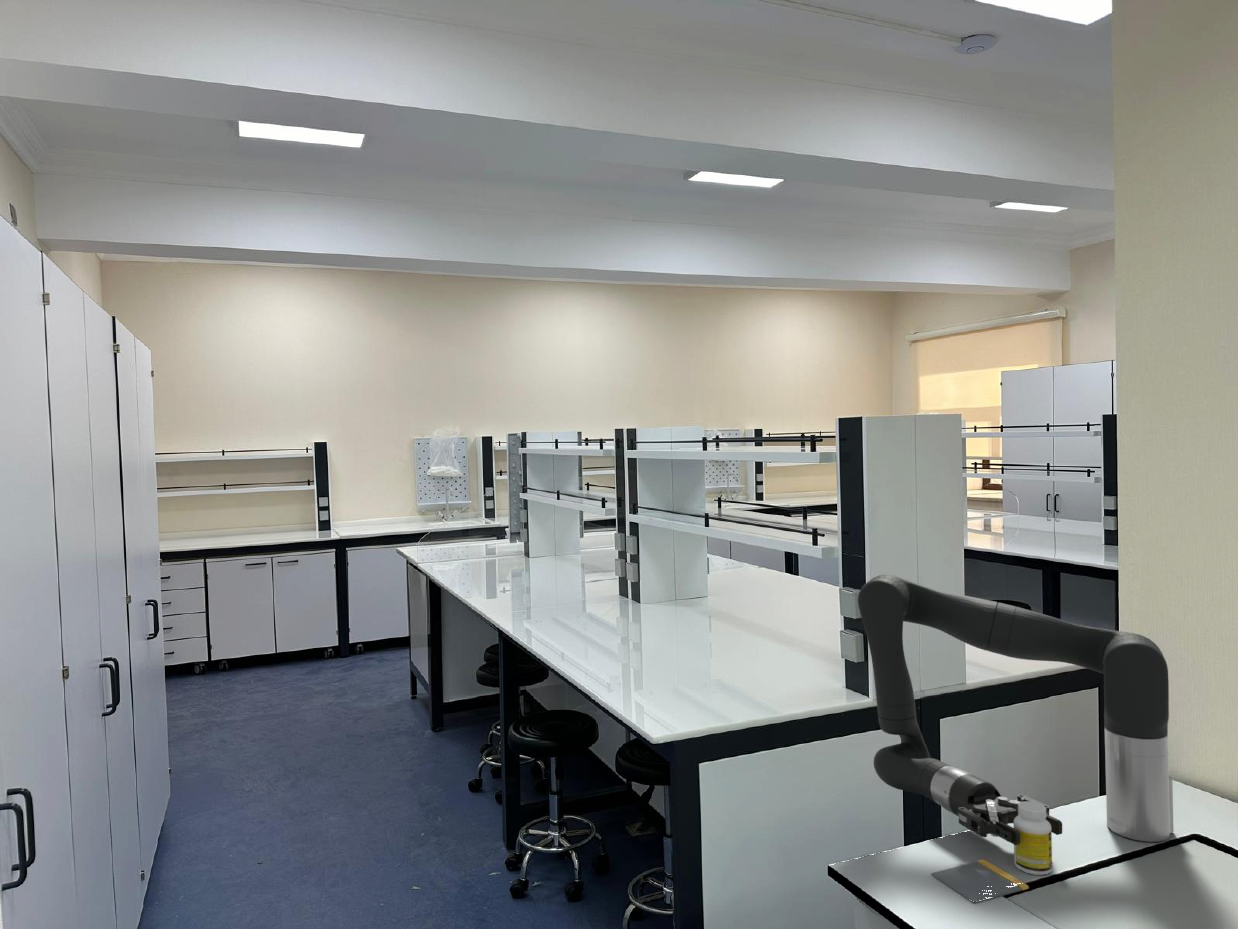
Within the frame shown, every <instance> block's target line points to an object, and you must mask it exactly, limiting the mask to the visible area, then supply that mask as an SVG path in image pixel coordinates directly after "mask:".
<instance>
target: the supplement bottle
mask: <svg viewBox="0 0 1238 929" xmlns="http://www.w3.org/2000/svg"><path fill="white" fill-rule="evenodd" d="M1045 818H1046V807H1045V806H1044V805H1042V804H1040V803H1036V802H1031V801H1024V802H1020V803H1019V804H1018V816H1017V817H1015V819H1014V824H1013V828H1015V829H1017V830H1018V831H1019V832H1020V844H1018V845H1014V844H1013V860H1014V862H1013V863H1014V865H1015V867H1016V868H1017V869H1019V870H1020V871H1021V870H1022V872H1023V871H1024V872H1023V873H1026V874H1029V873H1030V874H1029V875H1035V876H1044V874H1046V875H1048V873H1049V874H1050V873H1051V872H1052V871H1053V846H1052V845H1053V843H1052V839H1053V838H1052V830H1051V825H1050V823H1049V822H1048V821H1047V820H1046V819H1045Z"/></svg>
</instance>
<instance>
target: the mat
mask: <svg viewBox="0 0 1238 929" xmlns="http://www.w3.org/2000/svg"><path fill="white" fill-rule="evenodd" d="M930 875H931V876H933V877H934V878H935V879H937V880H938V879H939V880H938V881H939V882H942V883H943V884H944V883H945V886H947V885H948V886H947V887H949V888H950V887H951V889H952V888H953V889H954V890H953V889H952V890H953V891H955V890H956V891H957V892H956V891H955V892H956V893H958V894H959V893H960V894H959V895H961V894H962V895H963V897H964V898H965V897H966V898H965V899H967V898H968V899H970V900H972V901H974V902H976V901H979V900H983V899H986V898H985V897H987V898H988V897H996V896H1000V897H1003V896H1006V895H1011V894H1014V893H1017V892H1021V891H1026V890H1028V889H1029V888H1030V887H1029V885H1028V884H1026V883H1025V882H1022V881H1021V880H1019V879H1017V878H1016V877H1014V876H1013V875H1011V874H1009V873H1008V872H1006V871H1004V870H1002V869H1001V868H999V867H997V866H995V865H994V864H993V863H991V862H989V861H987V860H986V859H979V860H977V861H974V862H971V863H966V864H963V865H962V864H961V865H958V866H955V867H951V868H945V869H942V870H939V871H935V872H931V874H930ZM1011 883H1012V885H1011ZM1013 883H1015V884H1017V883H1021V884H1017V885H1018V886H1019V887H1018V886H1016V887H1013V888H1010V887H1009V888H1008V887H1006V886H1014V885H1013ZM1022 883H1023V884H1022ZM987 886H989V887H987ZM991 886H992V887H991ZM982 890H983V891H982ZM984 890H985V891H984ZM986 890H987V892H986ZM988 890H992V891H991V892H990V891H989V892H988ZM979 893H980V894H979ZM983 893H988V894H984V895H983ZM989 893H990V894H991V893H992V895H989ZM995 893H996V894H995ZM962 895H961V896H962ZM996 898H997V897H996ZM968 899H967V900H968ZM970 900H969V901H970Z"/></svg>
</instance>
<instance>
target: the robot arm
mask: <svg viewBox="0 0 1238 929" xmlns="http://www.w3.org/2000/svg"><path fill="white" fill-rule="evenodd" d="M857 605H858V609H859V613H860V617H861V620H862V623H863V624H862V625H863V628H864V631H865V634H866V638H867V643H868V647H869V651H870V656H871V663H872V670H873V671H872V672H873V678H874V688H875V700H876V707H877V718H878V723H879V728H880V730H881V731H882V732H883V733H886V734H888V735H892V736H893V735H894V736H899V738H900V743H897V744H893V745H888V746H885V747H882V748H879V750H877V751H876V753H875V755H874V757H873V767H874V771H875V773H876V775H877V776H878V778H879V779H880V780H881V781H882V782H884V784H886V785H888V787H891V788H894V789H897V790H901V791H903V792H908V793H911V794H916V795H917V794H918V795H921V796H924V797H925V798H927V799H929V800H931V801H932V802H934V803H935V804H938V805H939V806H941V807H942V808H943V809H945V810H946V811H948V812H949V813H951V814H952V815H955V816H957V817H958V823H959V825H961V826H962V827H964V828H966V829H968V830H970V831H971V832H972V833H974V834H976V835H977V836H979V837H982V838H986V837H987V838H988V835H990V836H992V837H995V838H996V837H997V838H1001V839H1003V840H1005V841H1006V842H1008V843H1010V844H1012V845H1013V846H1014V845H1018V844H1020V832H1019V831H1018V830H1017V829H1015V828H1014V826H1013V827H1012V825H1009V824H1013V825H1014V819H1015V817H1017V816H1018V815H1019V813H1018V804H1019V803H1020V802H1024V801H1031V802H1036V803H1040V804H1042V805H1044V806H1045V807H1046V818H1045V819H1046V820H1047V821H1048V822H1049V823H1050V825H1051V830H1052V833H1053V834H1054V835H1057V836H1059V835H1062V834H1063V822H1062V821H1061V820H1060V819H1058V818H1057V817H1054V816H1051V815H1050V806H1049V805H1047V804H1045V803H1043V802H1041V801H1038V800H1036V799H1033V798H1031V797H1029V796H1027V795H1025V794H1021V793H1020V794H1017V795H1016V796H1017V797H1016V798H1017V799H1014V800H1013V799H1010V798H1008V797H1005V796H1002V795H1001V794H1000V792H999V790H998V789H997V788H996V786H995V785H994V784H992V783H991V782H989V781H986V780H984V779H982V778H980V777H978V776H976V775H974V774H972V773H970V772H968V771H965V770H964V769H960V768H957V767H955V766H952V765H950V764H948V763H945V762H943V761H941V760H939V759H936V758H932V757H931V755H930V752H929V750H928V747H927V744H926V743H925V740H924V737H923V734H922V732H921V729H920V726H919V724H918V719H917V712H916V711H917V710H916V701H915V693H914V687H913V684H912V679H911V676H910V673H909V669H908V666H907V661H906V656H905V651H904V640H903V639H904V638H903V637H904V636H903V635H904V634H903V632H904V622H905V623H912V624H916V625H920V626H926V627H929V628H933V629H936V630H939V631H941V632H943V633H945V634H947V635H949V636H950V637H953V638H955V639H957V640H959V641H960V642H963V643H965V644H966V645H969V646H972V647H974V648H976V649H980V650H982V651H986V652H990V653H993V654H998V655H1001V656H1005V657H1009V658H1013V659H1019V660H1027V661H1038V662H1039V661H1040V662H1045V661H1046V662H1058V663H1066V664H1071V665H1074V666H1078V667H1081V668H1085V669H1089V670H1091V671H1094V672H1098V673H1100V674H1103V691H1104V692H1103V693H1104V694H1103V697H1104V708H1103V709H1104V711H1103V712H1104V713H1103V718H1104V720H1103V721H1104V722H1103V724H1104V752H1105V753H1104V755H1105V790H1106V791H1105V792H1106V793H1105V795H1106V796H1105V797H1106V802H1105V803H1106V805H1105V806H1106V807H1105V808H1106V826H1107V827H1108V829H1109V828H1110V829H1111V830H1110V829H1109V830H1110V831H1112V832H1113V833H1115V834H1117V835H1119V836H1122V837H1124V838H1127V839H1131V840H1135V841H1141V842H1149V843H1150V842H1152V843H1153V842H1154V843H1156V842H1157V843H1159V842H1164V841H1166V840H1168V839H1169V838H1170V837H1171V834H1172V833H1174V832H1175V830H1174V791H1173V790H1174V789H1173V788H1174V787H1173V777H1172V776H1171V775H1170V774H1169V773H1170V772H1169V742H1168V741H1169V736H1168V732H1169V730H1168V728H1169V726H1168V724H1169V719H1170V714H1169V713H1170V710H1169V709H1170V708H1169V707H1170V706H1169V705H1170V704H1169V702H1170V699H1169V698H1170V695H1169V694H1170V692H1169V690H1170V689H1169V688H1170V687H1169V684H1170V683H1169V668H1168V664H1167V661H1166V658H1165V657H1164V654H1163V652H1162V651H1161V649H1160V648H1159V646H1158V645H1157V644H1156V643H1155V642H1154V641H1153V640H1151V638H1148V637H1146V636H1144V635H1141V634H1138V633H1134V632H1128V631H1121V630H1120V631H1119V630H1114V629H1113V630H1112V629H1107V628H1101V627H1100V628H1098V627H1093V626H1088V625H1081V624H1077V623H1074V622H1070V621H1067V620H1063V619H1060V618H1057V617H1054V616H1051V615H1047V614H1044V613H1040V612H1036V611H1033V610H1030V609H1026V608H1022V607H1020V606H1015V605H1012V604H1011V605H1010V604H1008V603H1007V604H1006V603H1003V602H998V601H993V600H989V599H985V598H984V599H983V598H979V597H976V596H975V597H974V596H969V595H963V594H958V593H951V592H946V591H941V590H937V589H934V588H931V587H928V586H925V585H922V584H920V583H916V582H913V581H910V580H908V579H905V578H902V577H900V576H896V575H892V574H880V575H877V576H874V577H873V578H871V579H869V580H868V581H867V582H865V583H864V584H863V585H862V587H861V589H860V590H859V592H858V596H857Z"/></svg>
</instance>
